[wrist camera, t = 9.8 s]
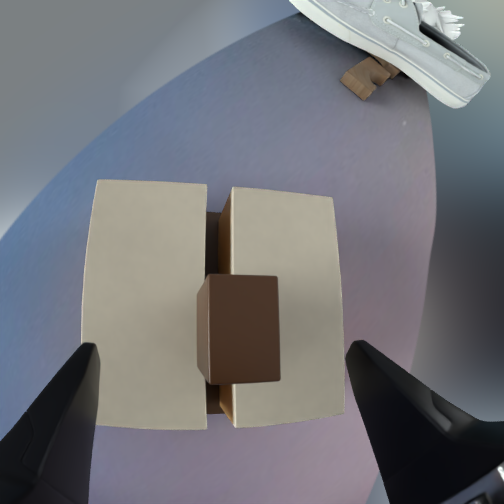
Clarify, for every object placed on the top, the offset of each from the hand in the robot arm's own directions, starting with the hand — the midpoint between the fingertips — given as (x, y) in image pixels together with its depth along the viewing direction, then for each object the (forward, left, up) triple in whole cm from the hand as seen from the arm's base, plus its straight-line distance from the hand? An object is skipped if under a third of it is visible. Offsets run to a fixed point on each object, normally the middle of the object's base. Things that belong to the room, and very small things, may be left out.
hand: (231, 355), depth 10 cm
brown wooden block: (+1, 0, -7) cm, 7 cm away
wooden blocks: (+31, -26, -6) cm, 41 cm away
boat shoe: (+29, -19, -6) cm, 35 cm away
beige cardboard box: (+2, 0, -8) cm, 8 cm away
